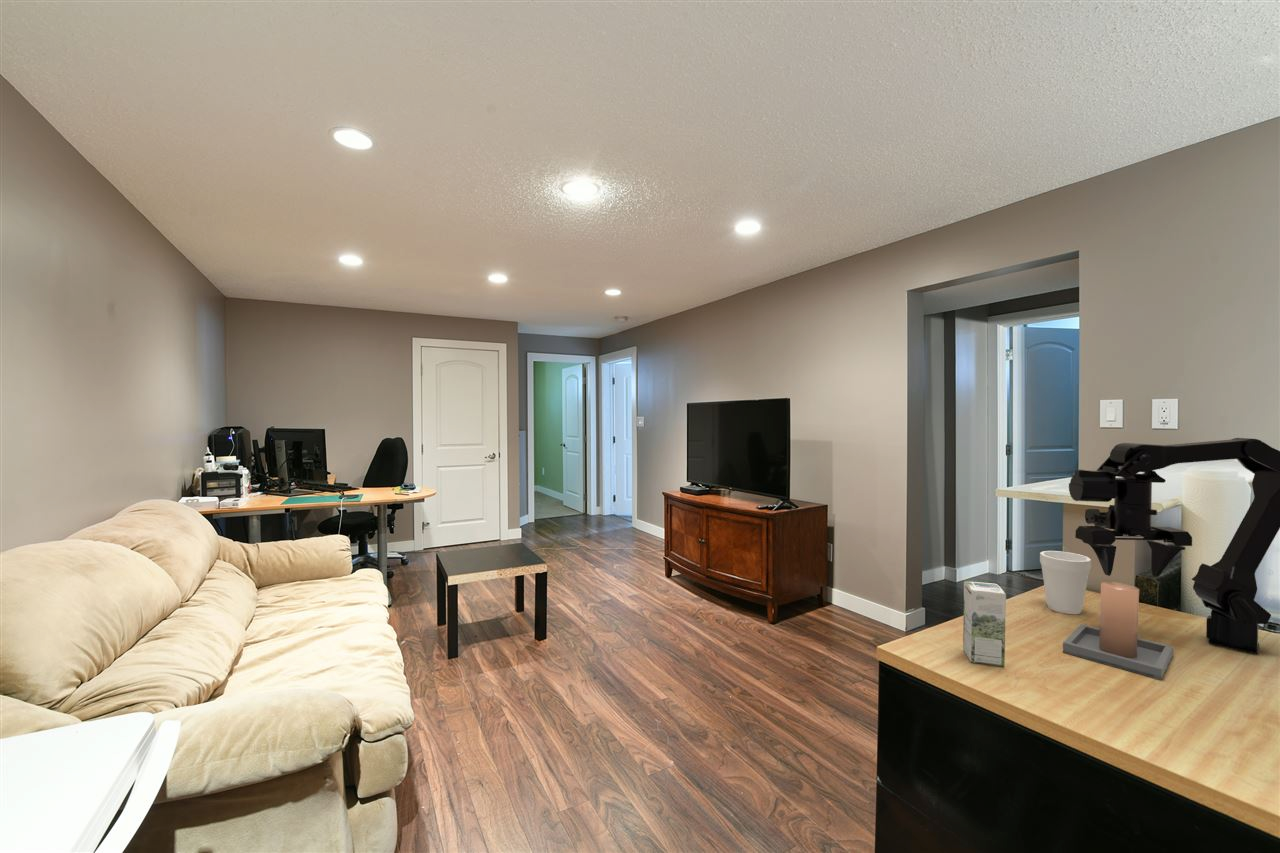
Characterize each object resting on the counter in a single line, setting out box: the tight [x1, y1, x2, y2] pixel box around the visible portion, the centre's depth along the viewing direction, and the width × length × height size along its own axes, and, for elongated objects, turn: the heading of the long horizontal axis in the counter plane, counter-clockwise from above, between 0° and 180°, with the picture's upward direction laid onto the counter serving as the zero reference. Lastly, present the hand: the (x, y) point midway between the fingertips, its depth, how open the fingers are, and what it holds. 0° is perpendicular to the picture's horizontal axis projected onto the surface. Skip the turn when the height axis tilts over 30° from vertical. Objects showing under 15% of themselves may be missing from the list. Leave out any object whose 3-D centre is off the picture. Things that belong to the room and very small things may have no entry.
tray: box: [1062, 623, 1174, 681], centre depth 103 cm, size 14×14×2 cm
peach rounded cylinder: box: [1099, 581, 1140, 658], centre depth 102 cm, size 6×6×13 cm
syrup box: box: [962, 580, 1007, 667], centre depth 101 cm, size 6×6×14 cm
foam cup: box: [1039, 550, 1092, 615], centre depth 126 cm, size 10×9×13 cm
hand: (1131, 575), depth 110 cm, fingers open, 9 cm apart
